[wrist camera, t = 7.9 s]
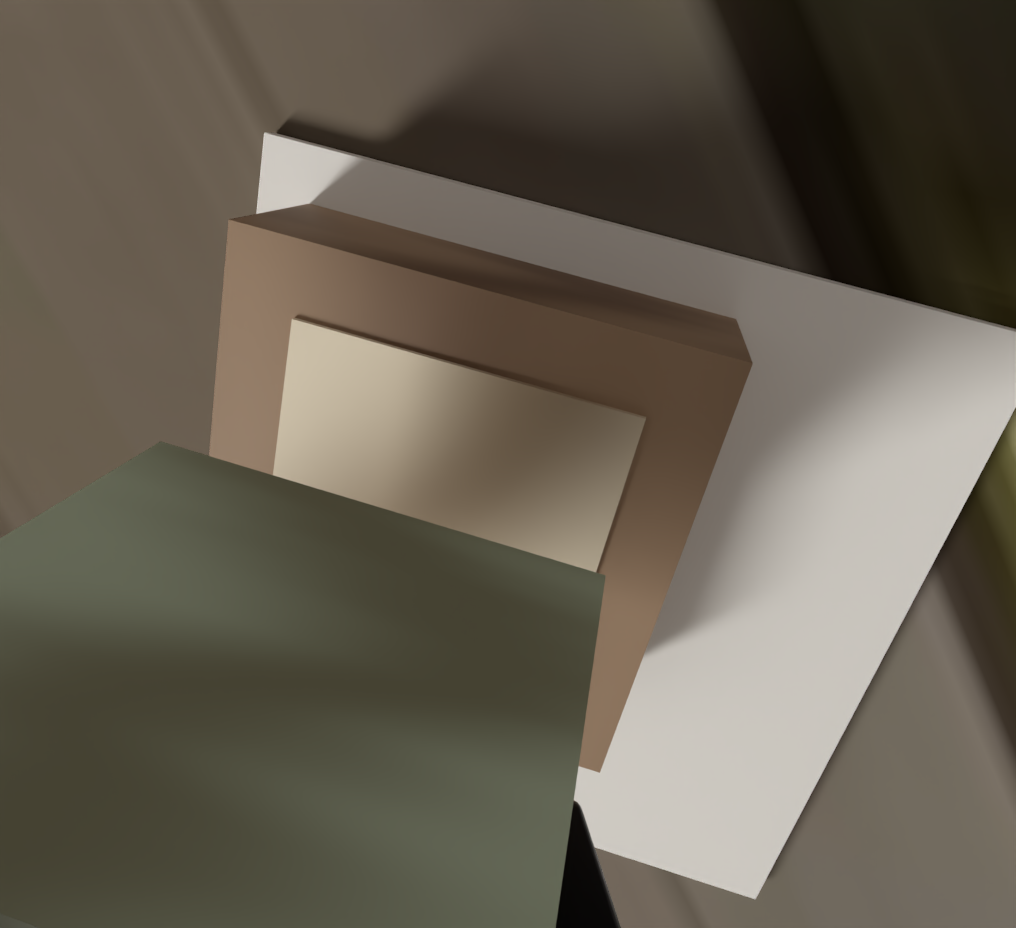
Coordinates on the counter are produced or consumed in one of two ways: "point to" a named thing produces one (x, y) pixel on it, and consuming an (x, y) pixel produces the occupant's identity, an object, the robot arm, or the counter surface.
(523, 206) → the board
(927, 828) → the counter surface
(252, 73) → the counter surface
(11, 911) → the sage block
